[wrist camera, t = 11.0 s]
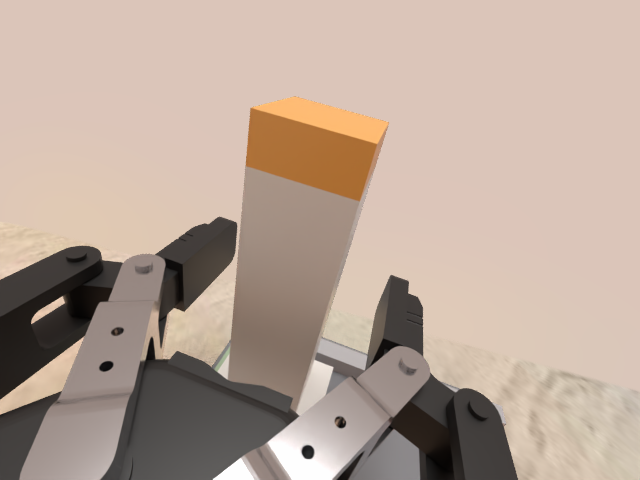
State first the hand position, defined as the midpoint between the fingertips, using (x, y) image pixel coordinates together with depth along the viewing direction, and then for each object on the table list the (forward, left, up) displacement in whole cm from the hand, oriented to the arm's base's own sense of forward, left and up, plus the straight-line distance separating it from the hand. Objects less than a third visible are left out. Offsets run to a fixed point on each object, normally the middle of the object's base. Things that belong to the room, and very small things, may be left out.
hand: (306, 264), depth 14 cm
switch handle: (+1, +2, -7) cm, 7 cm away
